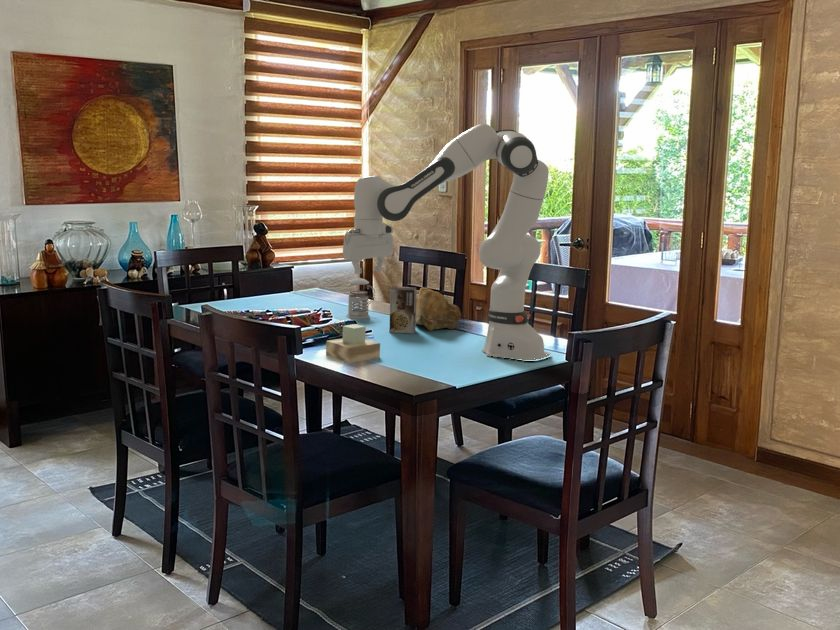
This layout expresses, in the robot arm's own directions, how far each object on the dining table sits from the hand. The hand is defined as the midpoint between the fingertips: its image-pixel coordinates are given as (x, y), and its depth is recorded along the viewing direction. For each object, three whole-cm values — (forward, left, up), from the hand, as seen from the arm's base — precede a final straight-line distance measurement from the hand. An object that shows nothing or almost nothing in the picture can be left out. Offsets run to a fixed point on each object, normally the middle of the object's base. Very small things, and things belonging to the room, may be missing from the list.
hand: (368, 272), depth 259 cm
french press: (+44, -45, -26) cm, 68 cm away
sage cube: (0, +6, -22) cm, 22 cm away
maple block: (0, +6, -27) cm, 27 cm away
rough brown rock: (+10, -51, -26) cm, 58 cm away
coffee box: (+14, -35, -26) cm, 46 cm away
